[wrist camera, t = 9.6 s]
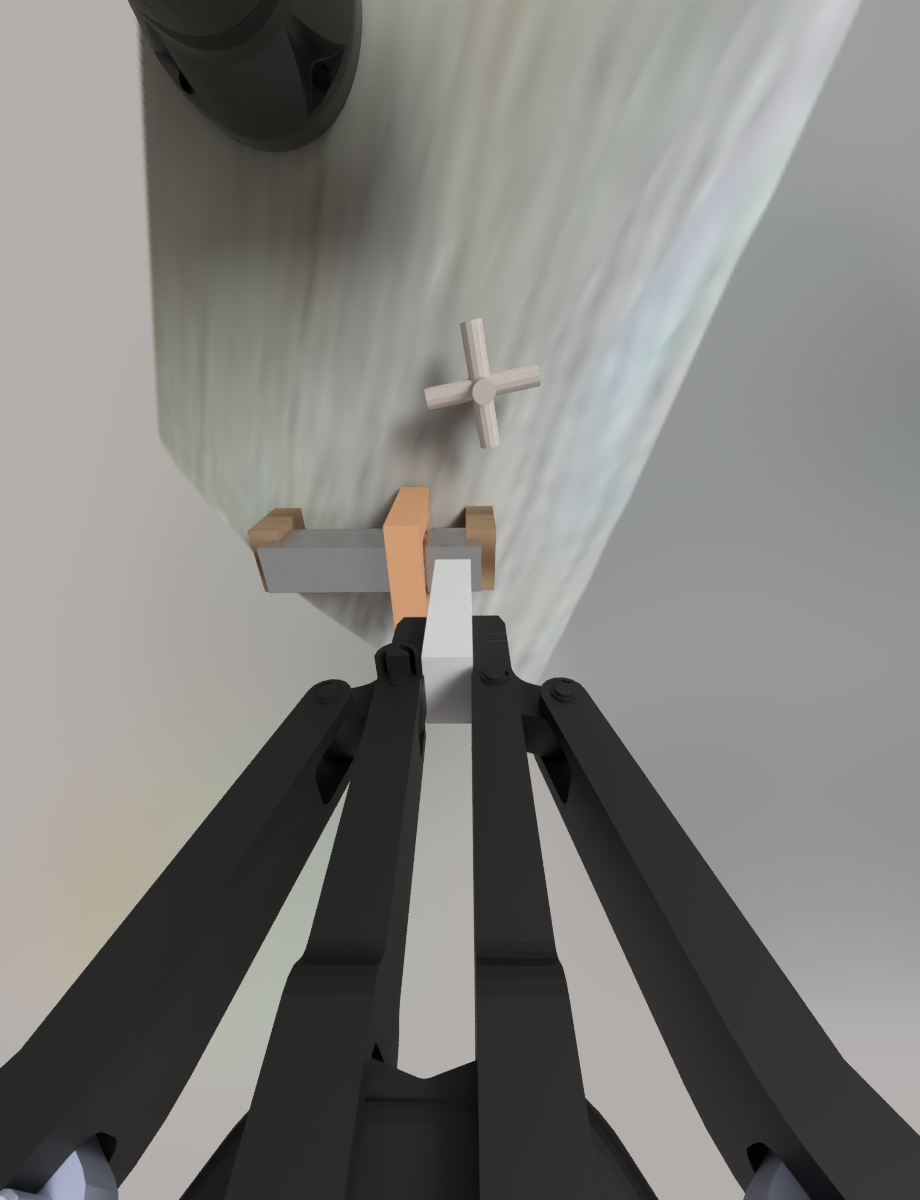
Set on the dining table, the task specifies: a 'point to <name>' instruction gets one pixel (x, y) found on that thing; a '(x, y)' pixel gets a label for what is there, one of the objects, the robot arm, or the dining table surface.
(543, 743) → the robot arm
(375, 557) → the grey long bar
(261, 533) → the stand
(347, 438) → the dining table surface
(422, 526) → the peach rectangular loop
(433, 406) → the pipe connector
